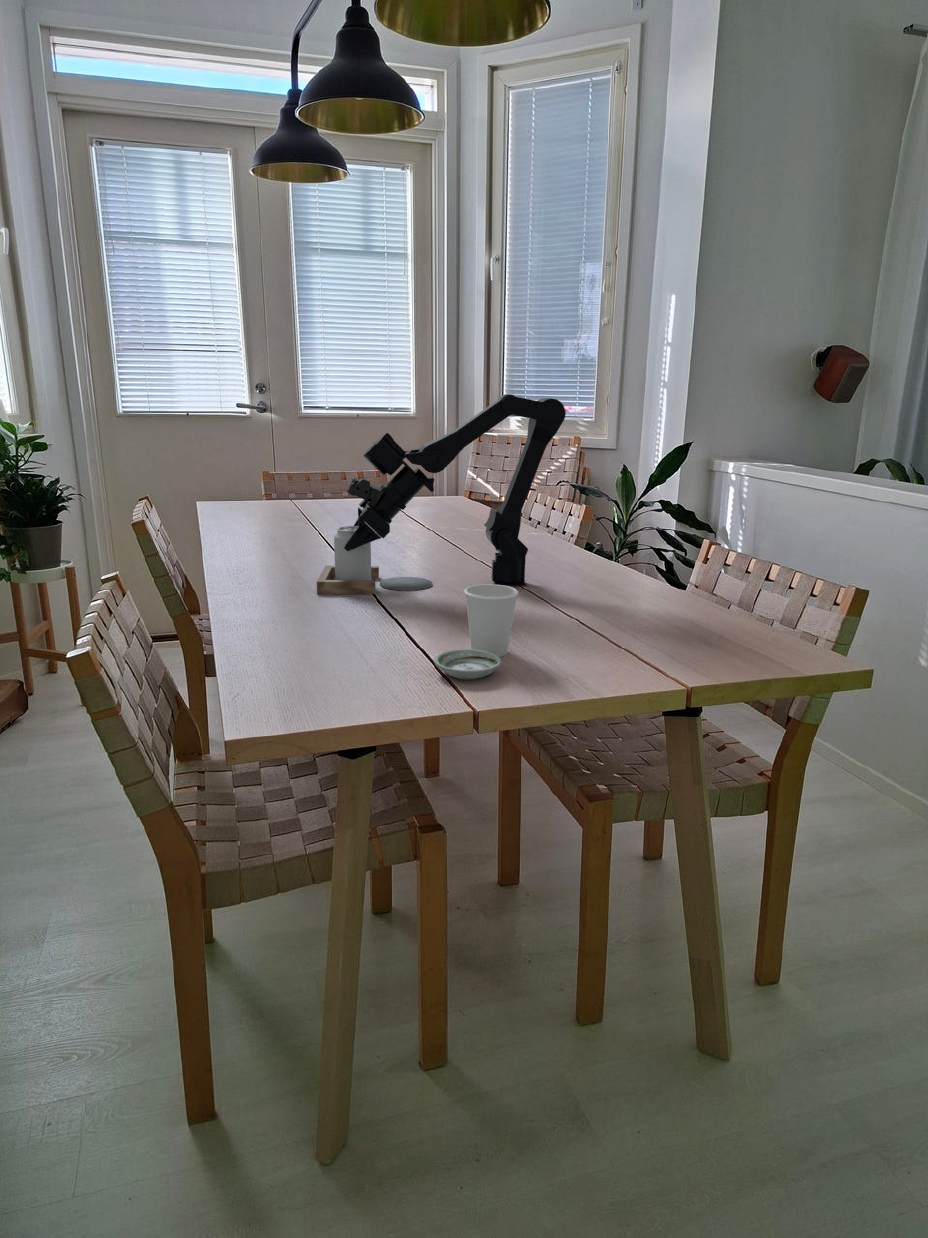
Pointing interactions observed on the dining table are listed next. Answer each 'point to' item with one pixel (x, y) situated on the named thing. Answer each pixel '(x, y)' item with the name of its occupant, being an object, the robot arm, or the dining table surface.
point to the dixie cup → (490, 616)
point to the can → (351, 557)
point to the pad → (405, 583)
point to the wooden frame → (345, 583)
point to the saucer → (467, 663)
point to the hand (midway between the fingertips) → (345, 545)
